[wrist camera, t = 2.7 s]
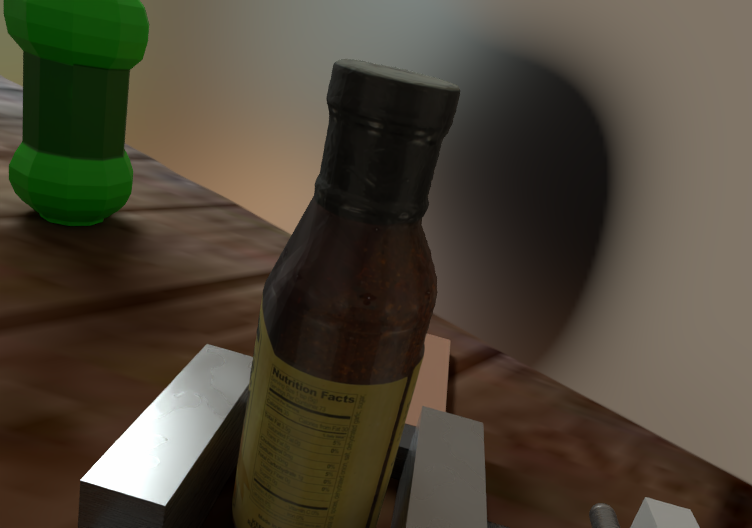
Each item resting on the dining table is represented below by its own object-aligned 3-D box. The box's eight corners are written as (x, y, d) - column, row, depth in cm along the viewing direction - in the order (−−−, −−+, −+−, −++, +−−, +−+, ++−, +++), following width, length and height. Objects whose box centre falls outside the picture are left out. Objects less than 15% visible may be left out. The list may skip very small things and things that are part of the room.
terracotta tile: (241, 391, 34) (243, 376, 34) (297, 309, 45) (300, 298, 45) (439, 448, 33) (444, 434, 33) (446, 351, 45) (450, 340, 44)
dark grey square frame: (25, 652, 19) (27, 537, 17) (215, 400, 33) (226, 322, 31) (675, 865, 17) (750, 764, 16) (583, 507, 31) (617, 433, 30)
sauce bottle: (299, 465, 30) (390, 62, 23) (395, 544, 26) (536, 102, 19) (189, 531, 24) (262, 37, 17) (291, 639, 21) (431, 84, 14)
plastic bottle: (135, 203, 59) (157, -71, 50) (130, 242, 50) (156, -84, 41) (20, 190, 55) (23, -109, 46) (-7, 231, 46) (-10, -132, 37)
